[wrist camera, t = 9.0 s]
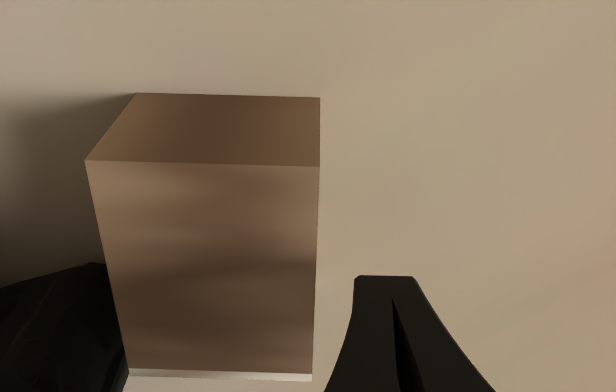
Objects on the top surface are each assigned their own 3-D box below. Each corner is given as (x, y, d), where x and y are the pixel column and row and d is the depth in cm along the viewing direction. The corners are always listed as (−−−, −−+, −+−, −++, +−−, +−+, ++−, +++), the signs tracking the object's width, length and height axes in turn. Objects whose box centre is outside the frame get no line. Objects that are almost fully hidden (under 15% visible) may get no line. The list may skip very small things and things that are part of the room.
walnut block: (130, 375, 15) (83, 160, 12) (164, 281, 19) (137, 91, 15) (311, 381, 15) (319, 166, 12) (313, 285, 19) (320, 97, 15)
